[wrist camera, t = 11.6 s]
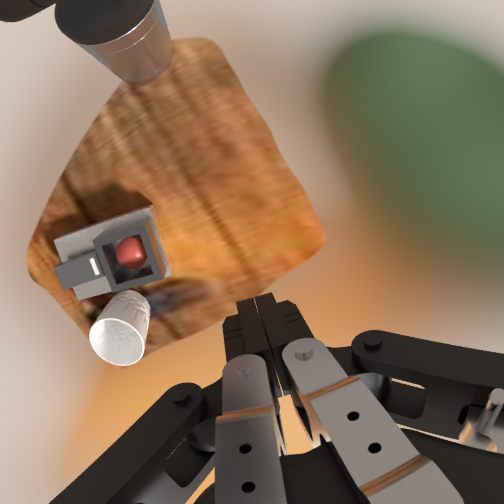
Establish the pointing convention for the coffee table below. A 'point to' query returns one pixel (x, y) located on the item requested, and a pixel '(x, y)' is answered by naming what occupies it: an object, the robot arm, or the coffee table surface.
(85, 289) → the grey switch box
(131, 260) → the button
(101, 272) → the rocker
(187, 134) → the coffee table surface
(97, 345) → the white cup
